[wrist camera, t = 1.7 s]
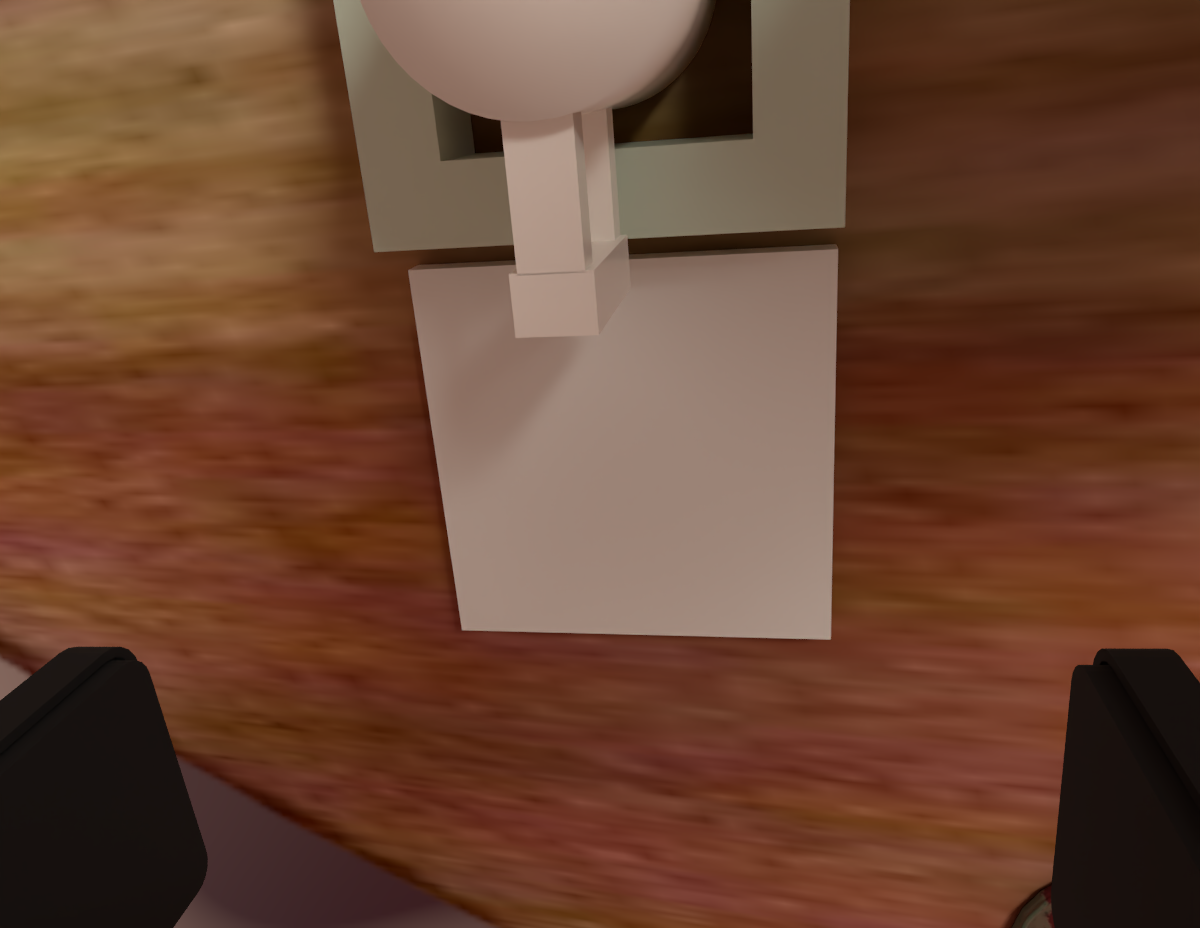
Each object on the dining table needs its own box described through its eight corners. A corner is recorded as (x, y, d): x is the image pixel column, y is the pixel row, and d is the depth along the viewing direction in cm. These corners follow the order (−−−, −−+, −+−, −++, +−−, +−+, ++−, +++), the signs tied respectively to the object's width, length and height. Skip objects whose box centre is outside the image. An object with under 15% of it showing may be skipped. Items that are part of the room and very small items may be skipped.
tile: (418, 264, 32) (407, 270, 31) (835, 244, 29) (838, 249, 28) (469, 616, 37) (461, 630, 36) (829, 624, 34) (830, 639, 34)
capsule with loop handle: (468, -189, 27) (301, -344, 17) (713, -223, 25) (680, -412, 16) (517, 267, 31) (408, 347, 22) (725, 257, 30) (705, 337, 21)
